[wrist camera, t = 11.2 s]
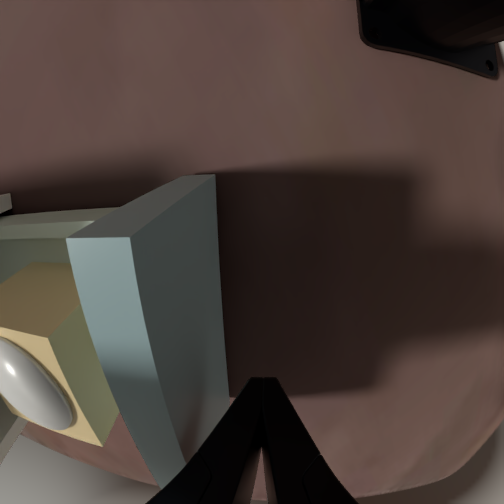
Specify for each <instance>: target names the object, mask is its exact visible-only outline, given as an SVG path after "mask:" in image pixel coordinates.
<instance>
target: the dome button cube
mask: <svg viewBox="0 0 504 504" xmlns="http://www.w3.org/2000/svg"><path fill="white" fill-rule="evenodd" d="M0 395H1V397H2V399H3V400H4V402H5V403H6V405H7V406H8V408H9V409H10V411H11V412H12V413H13V414H15V415H17V416H19V417H21V418H24V419H26V420H28V421H31V422H33V423H35V424H38V425H40V426H43V427H45V428H48V429H50V430H53V431H56V432H58V433H61V434H64V435H67V436H70V437H73V438H75V439H79V440H82V441H85V442H88V443H91V444H95V445H98V446H101V447H103V446H104V443H105V441H106V439H107V437H108V435H109V433H110V431H111V428H112V426H113V424H114V422H115V420H116V418H117V416H118V414H119V412H120V411H119V408H118V406H117V404H116V402H115V399H114V397H113V394H112V392H111V390H110V387H109V385H108V382H107V380H106V377H105V375H104V372H103V369H102V367H101V364H100V361H99V359H98V356H97V353H96V350H95V347H94V344H93V341H92V338H91V335H90V332H89V329H88V326H87V323H86V319H85V316H84V313H83V309H82V306H81V302H80V299H79V295H78V291H77V287H76V283H75V279H74V275H73V271H72V266H71V263H48V262H31V263H30V264H28V265H27V266H26V267H24V268H23V269H21V270H20V271H18V272H17V273H15V274H14V275H12V276H11V277H10V278H8V279H7V280H5V281H4V282H3V283H1V284H0Z"/></svg>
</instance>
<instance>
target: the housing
mask: <svg viewBox="0 0 504 504" xmlns="http://www.w3.org/2000/svg"><path fill="white" fill-rule="evenodd" d="M9 209H12V203H11V197H10V193H8V194H2V195H0V213H2V212H5V211H7V210H9ZM27 422H28V420H26V419H24V418H21V417H19V416H17V415H15V414H13V413H12V412H11V411H10V409H9V408H8V406H7V405H6V403H5V402H4V400H3V399H2V397H1V395H0V465H1V463H2V461H3V459H4V458H5V456H6V455H7V453H8V452H9V450H10V448H11V447H12V445H13V443H14V442H15V441H16V439H17V437H18V436H19V434H20V433H21V431H22V430H23V428H24V427H25V425H26V424H27Z"/></svg>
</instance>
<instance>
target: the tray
mask: <svg viewBox="0 0 504 504" xmlns="http://www.w3.org/2000/svg"><path fill="white" fill-rule="evenodd" d="M31 262H48V263H71V266H72V271H73V275H74V279H75V283H76V287H77V291H78V295H79V299H80V302H81V306H82V309H83V313H84V316H85V319H86V323H87V326H88V329H89V332H90V335H91V338H92V341H93V344H94V347H95V350H96V353H97V356H98V359H99V361H100V364H101V367H102V369H103V372H104V375H105V377H106V380H107V382H108V385H109V387H110V390H111V392H112V394H113V397H114V399H115V402H116V404H117V406H118V408H119V411H120V413H121V415H122V417H123V419H124V421H125V424H126V426H127V428H128V430H129V432H130V434H131V436H132V438H133V440H134V442H135V444H136V446H137V448H138V450H139V452H140V453H141V455H142V457H143V459H144V461H145V463H146V464H147V466H148V468H149V470H150V472H151V473H152V475H153V477H154V478H155V480H156V482H157V484H158V485H159V487H160V488H161V489H163V488H164V487H165V486H166V485H167V484H168V483H169V482H170V481H171V480H172V479H173V478H174V477H175V476H176V475H177V474H178V473H179V472H180V471H181V470H182V469H183V468H184V466H185V465H186V464H187V463H188V462H189V460H190V459H191V458H192V457H193V455H194V454H195V453H196V452H198V449H199V448H200V446H201V445H202V444H203V442H204V441H205V440H206V438H207V437H208V436H209V434H210V433H211V432H212V430H213V429H214V428H215V426H216V425H217V424H218V422H219V421H220V419H221V418H222V417H223V415H224V414H225V413H226V411H227V410H228V408H229V404H230V399H229V388H228V377H227V365H226V353H225V340H224V327H223V313H222V298H221V283H220V266H219V248H218V228H217V206H216V181H215V174H209V175H183V176H181V177H179V178H177V179H175V180H173V181H171V182H168V183H166V184H164V185H162V186H160V187H158V188H156V189H154V190H152V191H150V192H148V193H146V194H144V195H142V196H140V197H139V198H137V199H135V200H133V201H131V202H129V203H127V204H125V205H123V206H121V207H113V208H96V209H80V210H66V211H53V212H41V213H30V214H20V215H10V216H0V284H1V283H3V282H4V281H5V280H7V279H8V278H10V277H11V276H12V275H14V274H15V273H17V272H18V271H20V270H21V269H23V268H24V267H26V266H27V265H28V264H30V263H31Z"/></svg>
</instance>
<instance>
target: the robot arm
mask: <svg viewBox="0 0 504 504" xmlns="http://www.w3.org/2000/svg"><path fill="white" fill-rule="evenodd" d="M356 4H357V13H358V23H359V34H360V38H361V40H362V41H363V42H364V43H365V44H366V45H368V46H370V47H373V48H379V49H385V50H390V51H395V52H400V53H405V54H410V55H414V56H418V57H422V58H426V59H430V60H434V61H438V62H441V63H445V64H448V65H452V66H455V67H458V68H461V69H465V70H468V71H471V72H474V73H476V74H479V75H482V76H485V77H493V76H495V75H496V74H497V71H498V68H497V59H496V51H495V45H494V44H495V43H498V42H502V41H504V0H356ZM369 30H372V31H375V32H376V33H377V34H378V39H374V38H372V37H371V36H370V34H369ZM486 63H487V65H488V67H489V70H488V68H487V67H486ZM261 448H262V454H263V464H264V473H265V482H266V491H267V501H268V504H359V503H358V502H357V501H356V500H355V499H354V498H353V497H352V496H351V494H350V493H349V492H348V491H347V490H346V489H345V488H344V486H343V485H342V484H341V483H340V481H339V480H338V479H337V478H336V476H335V475H334V473H333V472H332V470H331V469H330V467H329V466H328V464H327V463H326V461H325V459H324V458H323V456H322V455H320V454H321V453H320V451H319V450H318V448H317V446H316V445H315V443H314V441H313V440H312V438H311V436H310V435H309V433H308V431H307V430H306V428H305V426H304V424H303V423H302V421H301V419H300V418H299V416H298V414H297V412H296V411H295V409H294V407H293V405H292V404H291V402H290V400H289V398H288V397H287V395H286V393H285V391H284V390H283V388H282V386H281V384H280V383H279V381H278V379H277V378H275V377H264V378H263V377H251V378H250V379H249V380H248V381H247V383H246V384H245V386H244V387H243V389H242V390H241V392H240V393H239V394H238V396H237V397H236V399H235V400H234V401H233V403H232V404H231V406H230V407H229V408H228V410H227V411H226V413H225V414H224V415H223V417H222V418H221V419H220V421H219V422H218V424H217V425H216V426H215V428H214V429H213V430H212V432H211V433H210V434H209V436H208V437H207V438H206V440H205V441H204V442H203V444H202V445H201V446H200V448H199V449H198V452H196V453H195V454H194V455H193V457H192V458H191V459H190V460H189V462H188V463H187V464H186V465H185V466H184V468H183V469H182V470H181V471H180V472H179V473H178V474H177V475H176V476H175V477H174V478H173V479H172V480H171V481H170V482H169V483H168V484H167V485H166V486H165V487H164V488H163V489H161V490H160V491H159V492H158V493H157V494H156V495H155V496H154V497H152V498H151V499H150V500H149V501H148V502H147V503H146V504H250V503H251V498H252V493H253V488H254V484H255V479H256V474H257V469H258V463H259V458H260V453H261Z"/></svg>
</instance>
